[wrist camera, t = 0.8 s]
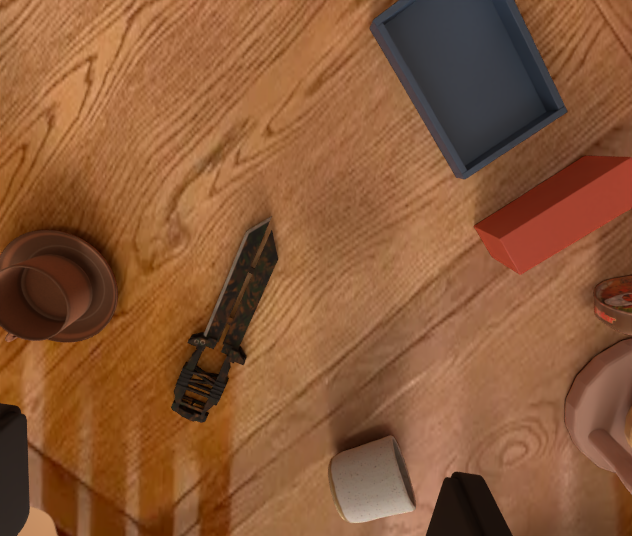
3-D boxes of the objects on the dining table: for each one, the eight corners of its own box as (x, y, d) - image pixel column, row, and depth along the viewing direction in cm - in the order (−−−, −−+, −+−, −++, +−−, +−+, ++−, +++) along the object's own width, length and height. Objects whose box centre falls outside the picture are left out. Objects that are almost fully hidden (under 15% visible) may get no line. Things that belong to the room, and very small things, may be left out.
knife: (259, 208, 40) (257, 210, 39) (315, 239, 41) (315, 242, 40) (158, 397, 46) (153, 405, 45) (209, 421, 47) (206, 429, 46)
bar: (473, 226, 40) (499, 238, 35) (584, 155, 38) (631, 156, 33) (491, 257, 41) (520, 275, 35) (601, 190, 39) (650, 197, 33)
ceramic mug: (323, 443, 48) (324, 498, 41) (387, 420, 47) (400, 472, 40) (356, 506, 51) (363, 568, 43) (417, 485, 50) (435, 545, 42)
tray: (369, 28, 35) (372, 19, 33) (471, -51, 34) (483, -65, 31) (456, 177, 39) (465, 179, 37) (552, 113, 37) (568, 111, 35)
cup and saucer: (110, 349, 44) (78, 379, 39) (1, 311, 43) (-49, 337, 37) (137, 251, 41) (107, 269, 35) (20, 208, 40) (-31, 219, 34)
